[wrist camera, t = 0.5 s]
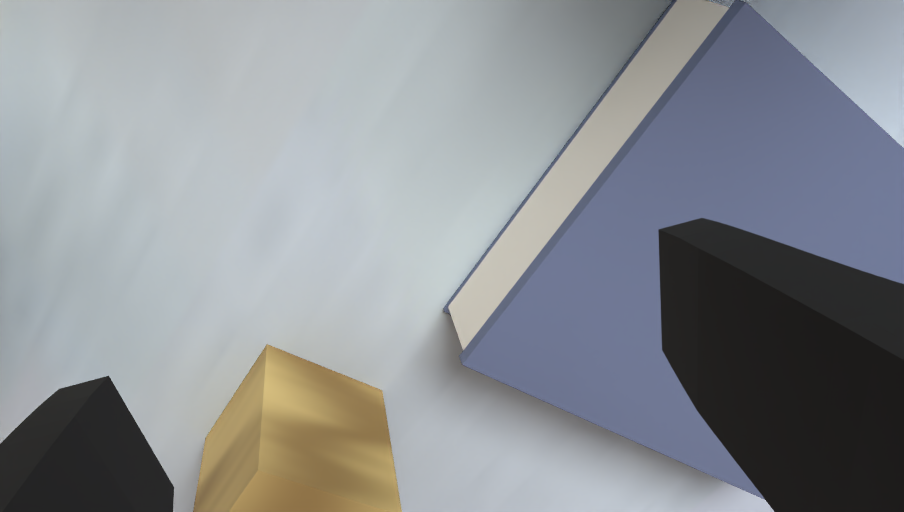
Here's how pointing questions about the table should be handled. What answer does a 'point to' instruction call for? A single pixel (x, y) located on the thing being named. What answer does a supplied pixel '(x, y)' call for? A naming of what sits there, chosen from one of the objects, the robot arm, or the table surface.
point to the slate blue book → (674, 219)
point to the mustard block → (299, 444)
